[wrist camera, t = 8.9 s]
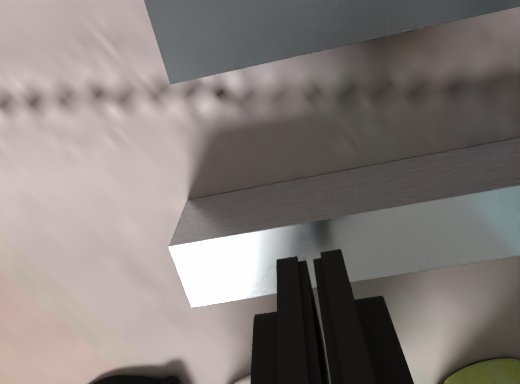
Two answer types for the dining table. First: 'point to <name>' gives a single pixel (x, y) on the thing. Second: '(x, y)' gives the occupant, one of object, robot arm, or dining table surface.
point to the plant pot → (488, 373)
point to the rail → (354, 222)
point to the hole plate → (286, 28)
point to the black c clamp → (136, 380)
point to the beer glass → (244, 380)
